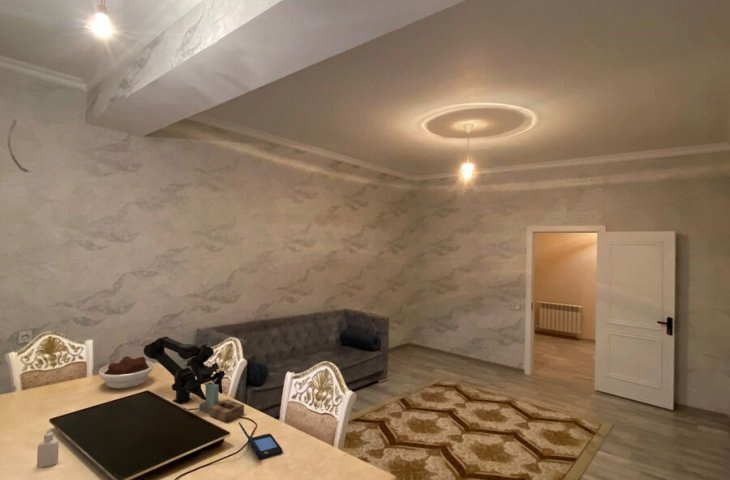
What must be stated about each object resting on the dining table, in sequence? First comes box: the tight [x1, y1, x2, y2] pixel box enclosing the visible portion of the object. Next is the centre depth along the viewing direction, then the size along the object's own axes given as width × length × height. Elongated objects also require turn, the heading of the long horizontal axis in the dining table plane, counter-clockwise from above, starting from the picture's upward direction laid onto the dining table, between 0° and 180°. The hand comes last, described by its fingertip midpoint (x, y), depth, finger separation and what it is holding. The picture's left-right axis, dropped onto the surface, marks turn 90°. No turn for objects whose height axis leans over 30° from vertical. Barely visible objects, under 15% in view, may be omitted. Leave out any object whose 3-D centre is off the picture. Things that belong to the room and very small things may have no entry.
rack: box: [208, 399, 245, 424], centre depth 174 cm, size 11×10×4 cm
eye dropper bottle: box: [36, 428, 60, 467], centre depth 134 cm, size 4×6×12 cm
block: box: [204, 381, 220, 406], centre depth 179 cm, size 6×2×9 cm, turn 60°
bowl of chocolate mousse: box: [98, 355, 155, 389], centre depth 206 cm, size 25×25×15 cm
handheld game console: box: [238, 421, 283, 460], centre depth 148 cm, size 16×13×9 cm
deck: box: [198, 400, 221, 415], centre depth 179 cm, size 8×7×3 cm
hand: (213, 396), depth 179 cm, fingers open, 9 cm apart
